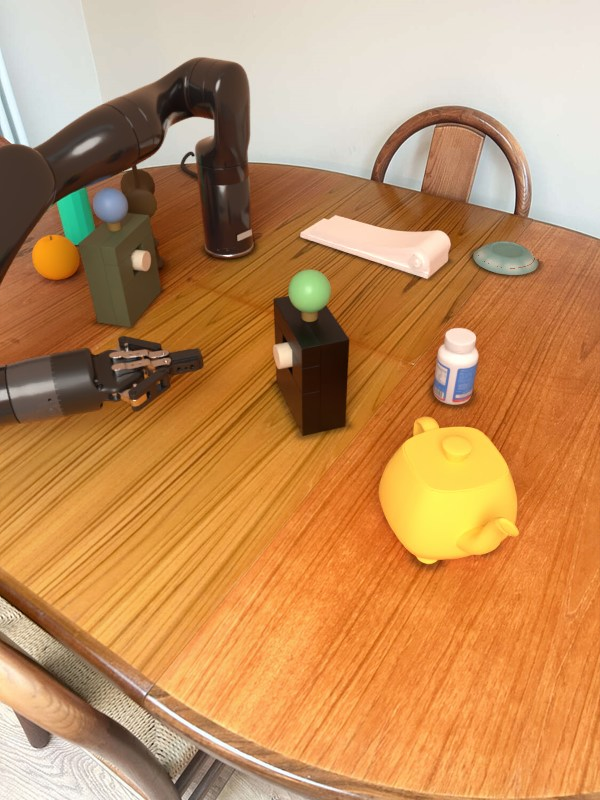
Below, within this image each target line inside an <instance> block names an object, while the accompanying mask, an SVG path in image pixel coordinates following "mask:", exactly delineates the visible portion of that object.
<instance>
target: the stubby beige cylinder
mask: <svg viewBox="0 0 600 800" xmlns="http://www.w3.org/2000/svg"><path fill="white" fill-rule="evenodd" d="M272 353H273V359H274V363H275V367H276V366H277V368H278V369H283V368H288V367H292V349H291V348H290V346H289V344H288V342H286V343H281V344H276V345H275V344H274V345H273V347H272Z"/></svg>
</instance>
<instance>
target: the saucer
mask: <svg viewBox="0 0 600 800" xmlns="http://www.w3.org/2000/svg"><path fill="white" fill-rule="evenodd" d="M478 255H479V256H478ZM533 255H534V254H533V252H532V251H531V250H530V249H528V248H527V247H526V246H524V245H521V244H519V243H517V242H513V241H508V240H507V241H506V240H497V241H492V242H489V243H487V244H484V245H481V247H479V248H478V249H476V250H475V251H474V252H473V255H472V258H473V260H474V262H475V264H476V265H478V266H479V267H480V268H483V269H485V270H486V271H490V272H491V273H492V272H493V273H496V274H500V275H507V276H521V275H526V274H529V273H532V272H534V271H535V270H537V269H538V267H539V260H538V259H537V258H536V256H535V255H534V256H533ZM534 257H535V260H534ZM533 260H534V262H533ZM484 261H485V262H484ZM532 262H533V263H532ZM488 263H489V264H488ZM531 263H532V264H531ZM529 264H531V265H529ZM527 265H529V266H527ZM497 266H498V267H497ZM523 266H526V267H523ZM501 267H502V268H501ZM518 267H523V268H518ZM510 268H515V269H510Z"/></svg>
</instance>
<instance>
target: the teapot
mask: <svg viewBox="0 0 600 800" xmlns="http://www.w3.org/2000/svg"><path fill="white" fill-rule="evenodd" d="M412 428H413V429H412V430H413V431H412V437H409V438H408V439H407V440H405V441H404V442H403V443H402V444H401V445H400V446H399V447H398V449H397V450H396V451H395V453H394V454H393V455H392V456H391V458H390V459H389V460H388V462H387V463H386V465H385V468H384V469H383V472H382V474H381V477H380V480H379V481H380V482H379V486H378V499H379V502H380V503H379V504H380V506H381V509H382V512H383V515H384V517H385V519H386V522H387V523H388V525H389V527H390V529H391V530H392V531H393V533H394V535H395V536H396V538H397V539H398V541H399V542H400V543H401V544H402V546H403V547H404V548H405V549H406V550H407V551H408V552H409V553H410V554H412V555H414V556H415V557H416V559H417V560H418V561H419V562H421V563H422V564H426V565H432V564H434V563H436V562H438V561H441V560H442V561H443V560H445V561H446V560H455V559H461V558H466V557H471V556H473V555H474V556H481V555H486V554H488V553H490V552H493V551H494V550H496V549H497V548H498V547H499V546H500V544H501V542H503V541H504V540H505V539H507V537H508V536H510V537H518V536H519V534H520V532H519V529H518V527H517V526H516V521H517V516H518V514H517V513H518V495H517V491H516V487H515V483H514V480H513V479H514V478H513V476H512V473H511V470H510V468H509V466H508V464H507V462H506V460H505V458H504V457H503V455H502V454H501V452H500V451H499V449H498V448H497V446H496V445H495V444H494V443H493V441H492V440H491V439H490V438H489V437H488V436H487V435H486V434H485V433H484V432H482V431H481V430H480V429H477V428H474V427H469V426H449V427H440V426H439V423H438V422H437V421H436V420H435V419H434V418H433V417H431V416H421V417H418V418H417V419H415V421H414V423H413V427H412Z"/></svg>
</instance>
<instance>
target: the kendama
mask: <svg viewBox="0 0 600 800" xmlns="http://www.w3.org/2000/svg"><path fill="white" fill-rule="evenodd" d="M137 166H138V165H135V166H134V167H132V168H131V170H127V172H124V174H123V175H122V177H121V179H120V191H121V192H122V193H123V194H124V196H125V197H126V199H127V202H128V211H127V213H134V214H142V215H149V217H150V219H151V218H153V217H154V216H155V214H156V212H157V210H158V202H157V199H156V196H155V192H156V184H155V181H154V177H152V175H151V174H150V173H149V172H148V171H145V170H143V169H138V167H137ZM152 235H153V241H154V247H155V253H156V260H157V266H158V270H159V269H162V267H163V266H164V265H165V259H164V258H163V256H161V255H160V251H159V246H160V241H159V239H158V238H157V237H156V236H155V234H154V233H153V231H152Z"/></svg>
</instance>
